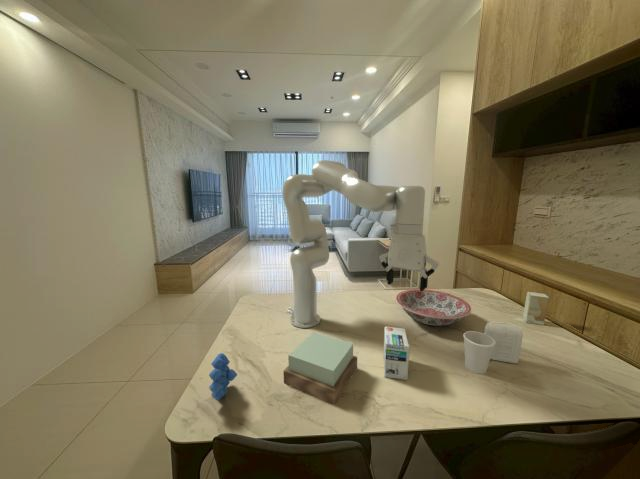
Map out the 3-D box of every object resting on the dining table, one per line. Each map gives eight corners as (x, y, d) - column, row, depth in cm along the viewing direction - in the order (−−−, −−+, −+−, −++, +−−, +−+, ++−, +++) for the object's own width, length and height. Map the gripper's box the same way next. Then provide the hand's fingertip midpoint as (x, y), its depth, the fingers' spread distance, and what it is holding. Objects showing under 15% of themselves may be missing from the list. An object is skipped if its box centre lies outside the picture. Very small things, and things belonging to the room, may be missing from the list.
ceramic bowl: (468, 312, 118) (469, 295, 116) (470, 345, 92) (473, 324, 91) (401, 300, 131) (402, 285, 130) (388, 326, 106) (388, 308, 104)
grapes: (234, 412, 65) (231, 368, 62) (205, 415, 64) (201, 371, 62) (242, 379, 76) (239, 341, 74) (217, 381, 75) (214, 343, 73)
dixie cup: (474, 356, 86) (477, 328, 84) (498, 373, 78) (502, 342, 77) (454, 362, 83) (457, 333, 82) (477, 379, 76) (480, 348, 74)
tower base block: (283, 384, 75) (283, 370, 74) (312, 354, 88) (312, 342, 88) (334, 406, 67) (334, 391, 66) (357, 369, 81) (357, 356, 80)
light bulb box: (407, 381, 75) (410, 346, 73) (383, 377, 77) (385, 344, 75) (403, 358, 86) (405, 327, 84) (382, 355, 87) (384, 325, 85)
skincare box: (525, 322, 108) (529, 295, 106) (522, 318, 112) (526, 291, 110) (545, 325, 106) (549, 297, 104) (540, 321, 110) (545, 293, 108)
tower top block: (288, 369, 74) (288, 355, 73) (313, 344, 86) (313, 332, 86) (333, 386, 68) (333, 371, 67) (353, 357, 80) (353, 343, 79)
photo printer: (515, 357, 86) (520, 322, 84) (520, 365, 82) (526, 329, 80) (479, 351, 89) (483, 317, 87) (483, 359, 85) (487, 324, 83)
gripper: (375, 229, 77) (373, 284, 80) (438, 233, 67) (433, 296, 70) (385, 226, 83) (383, 278, 86) (444, 230, 73) (439, 288, 76)
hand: (405, 286), depth 78 cm, fingers open, 9 cm apart
